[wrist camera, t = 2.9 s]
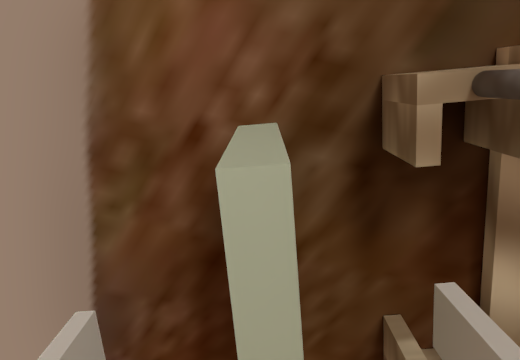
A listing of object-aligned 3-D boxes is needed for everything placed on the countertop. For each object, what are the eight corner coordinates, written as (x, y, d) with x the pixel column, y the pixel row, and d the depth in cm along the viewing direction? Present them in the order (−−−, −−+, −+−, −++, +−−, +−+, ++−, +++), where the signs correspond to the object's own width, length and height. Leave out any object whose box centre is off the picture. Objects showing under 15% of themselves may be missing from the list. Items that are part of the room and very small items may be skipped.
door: (219, 127, 20) (177, 172, 10) (276, 122, 20) (290, 162, 10) (244, 350, 23) (231, 542, 14) (293, 347, 23) (315, 538, 14)
